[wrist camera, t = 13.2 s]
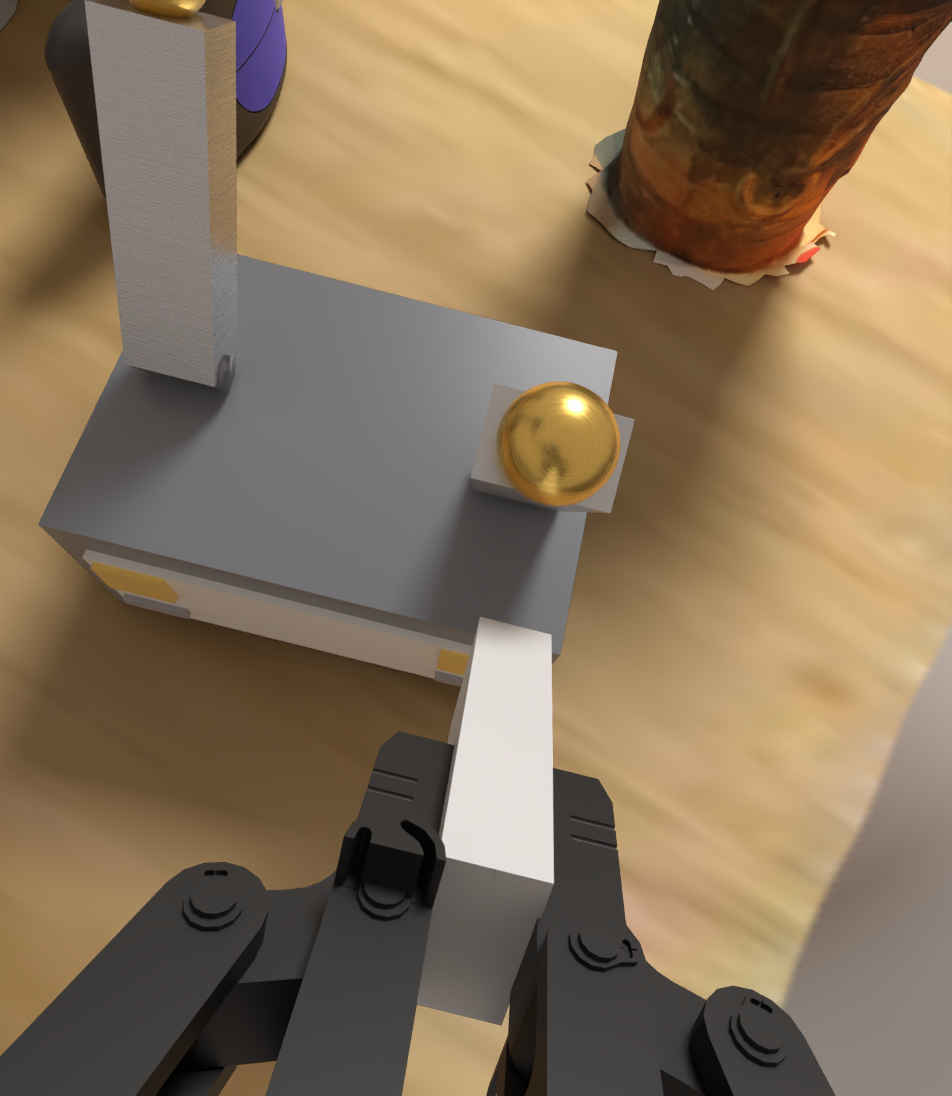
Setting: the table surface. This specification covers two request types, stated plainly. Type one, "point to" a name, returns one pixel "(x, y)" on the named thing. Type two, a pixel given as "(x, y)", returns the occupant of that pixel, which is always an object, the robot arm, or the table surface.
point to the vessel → (752, 126)
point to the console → (328, 479)
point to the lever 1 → (170, 181)
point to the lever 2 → (552, 448)
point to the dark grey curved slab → (257, 69)
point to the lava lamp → (7, 11)
